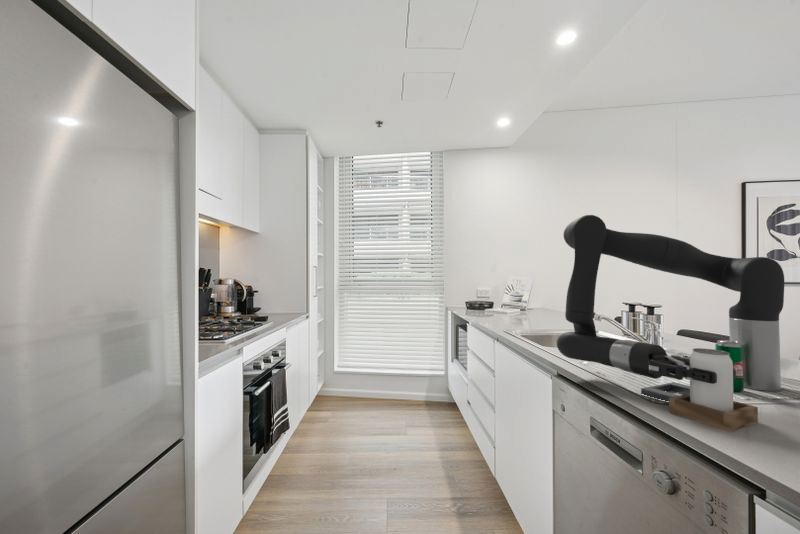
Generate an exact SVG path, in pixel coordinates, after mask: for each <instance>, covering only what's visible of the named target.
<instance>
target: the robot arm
mask: <svg viewBox="0 0 800 534" xmlns="http://www.w3.org/2000/svg"><path fill="white" fill-rule="evenodd" d="M563 239H564V242H565V243H566V244H567V245H568V247H570V248H572V249H573V250H574V262H573V268H572V273H571V277H570V279H569V280H570V281H569V282H568V287H567V293H566V300H565V301H566V302H565V315H564V316H565V320H566V321H567V322H569V323H571V324H572V325H573V330H574V331H567V332H563V333H562V334H560V335H559V336H558V338H557V339H556V346H557V349H558V352H560V353H561V354H562V355H563V356H564V357H566V358H569V359H573V360H578V361H585V362H592V363H598V364H600V365H603V366H607V367H612V368H616V369H618V370H620V371H623V372H627V373H631V374H635V375H639V376H643V377H647V378H651V379H660V378H662V377H666V378H671V379H673V380H674V379H675V380H679V381H681V380H684V379H685V380H687V381H690V380H691V379H694V380H698V381H702V382H707V383H711V384H714V383H717V374H716V373H715V372H713V371H708V370H703V369H698V368H692V367H690V356H688V355H683V356H682V355H678V354H671V356H670V355H668V354H667V352H666V350H665V348H664V347H663V346H661V345H659V344H654V343H647V342H643V341H642V342H641V341H636V340H631V339H618V338H612V337H604V336H597V330H596V324H595V321H594V320H595V319H594V313H595V312H594V311H595V300H596V299H595V298H596V285H597V278H598V270H599V266H600V261H601V256H602V255H606V256H609V257H614V258H617V259H619V260H622V261H625V262H629V263H632V264H635V265H640V266H643V267H645V268H649V269H652V270H656V271H660V272H664V273H669V274H674V275H679V276H683V277H689V278H695V279H700V280H703V281H706V282H709V283H712V284H715V285H718V286H721V287H722V288H726V289H728V290H731V291H734V292H739V293H740V295H739V300H738V302H737V303H736V304H734V305H732V306H731V307H729V310H728V327H729V341H737V342H740V343H741V346H742V347H743V374H744V388H748V389H752V390H757V391H758V390H760V391H769V392H777V391H779V392H780V391H781V390H782V378H781V377H782V371H781V369H782V368H781V340H780V339H781V338H780V337H781V335H780V314H781V312H782V310H783V308H784V300H785V274H784V271H783V268H782V266H781V264H780V263H779V262H777V261H776V260H775V259H773V258H771V257H766V256H757V257H756V256H755V257H741V258H740V257H729V256H728V257H727V256H722V255H716V254H712V253H708V252H705V251H703V250H701V249H699V248H698V247H696V246H695V245H693V244H691V243H688V242H686V241H683V240H681V239H676V238H672V237H669V236H665V235H659V234H655V233H654V234H652V233H642V232H625V231H624V232H623V231H618V230H613V229H609V228H607V226H606V223H605V222H604V220H603V219H601V218H600V217H599V216H598V215H594V214H585V215H582V216H580V217H578V218H576V219H574V220H573V221H572V222H570V223H569V224H568V225H567V226H565V229H564V230H563ZM733 379H736V370H735V369H734V368H733Z"/></svg>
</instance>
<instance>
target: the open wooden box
mask: <svg viewBox="0 0 800 534" xmlns="http://www.w3.org/2000/svg"><path fill="white" fill-rule="evenodd" d="M678 395H679V396H675V397H670V398H669V403H668V411H669V412H668V413H670V414H673V415H675V416H679V417H683V418H684V419H688V420H692V421H695V422H698V423H701V424H705V425H707V426H712V427H714V428H717V429H720V430H724V431H726V432H735V431H739V430H741V429H744V428H747V427H750V426H753V425H756V424H758V423H759V409H758V406H756V405H751V404H747V403H742V402H739V401H736V400H733V410H732V411H729V412H724V411H720V410H717V409H713V408H709V407H706V406H702V405H698V404H695V403H691V402H690V393H688V394H678Z"/></svg>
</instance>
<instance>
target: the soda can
mask: <svg viewBox="0 0 800 534" xmlns="http://www.w3.org/2000/svg"><path fill="white" fill-rule="evenodd" d="M714 348H715V349H714V350H720V351H725V352H728V353H730V354H729V356H730V358H731V360H732V362H733V368H734V369H735V370H736V379H733V393H742V392H744V390H745V387H744V374H743V347H742V346H741V343H740V342H737V341H730V339H728V340H727V339H726V340H725V339H718V340H716V343H715V344H714Z"/></svg>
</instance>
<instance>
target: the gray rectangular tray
mask: <svg viewBox="0 0 800 534" xmlns="http://www.w3.org/2000/svg"><path fill="white" fill-rule="evenodd" d="M665 391H667V392H665ZM673 391H674V392H673ZM640 392H641V393H640V395H641V394H644V395H647V396H650V397H654V398H657V399H661V400H665V401H669V398H670V397H675V396H679V395H680V394H681V393H682V394H681V395H684V394H688V393H690V385H686V384H683V383H678V382H675V381H674V382H673V381H672V382H668V383H662V384H657V385H652V386H648V387H647V386H646V387H641V389H640ZM672 392H673V393H672ZM677 392H678V393H677ZM676 393H677V394H676Z"/></svg>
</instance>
